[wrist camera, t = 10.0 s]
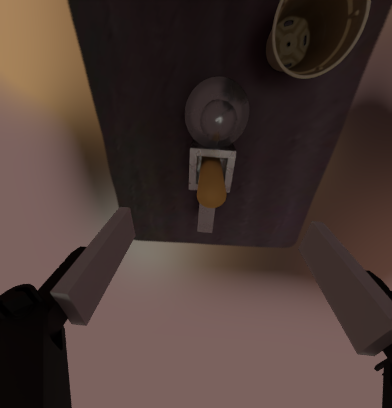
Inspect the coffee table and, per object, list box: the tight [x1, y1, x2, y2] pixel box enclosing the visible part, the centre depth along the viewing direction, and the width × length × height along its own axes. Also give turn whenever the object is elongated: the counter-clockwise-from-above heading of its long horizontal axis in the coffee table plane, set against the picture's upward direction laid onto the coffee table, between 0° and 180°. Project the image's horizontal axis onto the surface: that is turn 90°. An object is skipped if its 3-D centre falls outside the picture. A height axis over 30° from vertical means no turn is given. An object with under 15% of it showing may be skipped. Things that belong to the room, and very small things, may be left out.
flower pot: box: [266, 0, 371, 79], centre depth 22 cm, size 9×9×9 cm
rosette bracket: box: [185, 77, 249, 233], centre depth 29 cm, size 26×9×14 cm, turn 177°
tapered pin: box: [197, 156, 226, 208], centre depth 27 cm, size 4×4×14 cm
